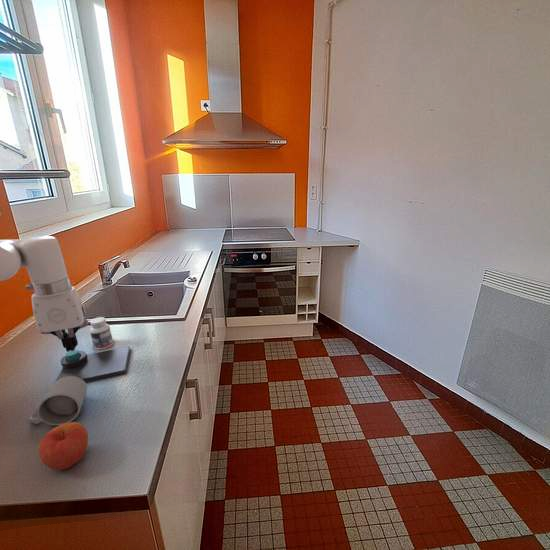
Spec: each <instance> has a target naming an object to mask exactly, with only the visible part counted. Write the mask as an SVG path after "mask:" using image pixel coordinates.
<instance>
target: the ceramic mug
mask: <svg viewBox="0 0 550 550" xmlns="http://www.w3.org/2000/svg"><path fill="white" fill-rule="evenodd" d="M56 380H57V379H56ZM56 380H55V382H54V383H53V384H51V386H50V388H48V390H47V392H46V393H45V395H44V397H43V398H42V399H41V401H40V402H39V404H38V406H37V408H36V409H35V410H34V411H33V412H32V413H31V415H30V417H29V421H30V422H32V423H33V424H35V425H39V424H41V423H42V422H43V423H45V424H46V425H49V426H59V425H62V424H64V423H68V422H74V420H75V419H76V418H77V417H78V416H79V414H80V412H81V409H82V406H83V404H84V401H85V398H86V395H87V392H88V391H87V390H88V387H87V382H86V383H85V382H84V381H83V380H82V379H81V378H79V377H76V376H66V377H63V378H60V379H59V380H57V381H56Z"/></svg>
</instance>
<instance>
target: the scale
mask: <svg viewBox="0 0 550 550" xmlns="http://www.w3.org/2000/svg"><path fill="white" fill-rule="evenodd" d="M78 351H79V354H80V358H78V359H76V360H74V361H67V358H66V355H64V356H62V358H61V359H60V365H61V367H62V369H61V370H60V372H59V374H58V376H57V379H56V380H55V382H56V381H57V380H59V379H60V378H63V377H66V376H76V377H79V378H81V379H82V380H83V381H84V382H85V383H86V384H87V383H90V382H91V383H92V382H94V381H99V380H105V379H108V378H114V377H118V376H123V375H126V374H127V368H128V363H129V358H130V353H131V348H130V346H125V347H119V348H114V349H113V348H112V349H109V350H103V351H98V352H97V351H96V352H93V353H86V351H82V350H78Z"/></svg>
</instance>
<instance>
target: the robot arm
mask: <svg viewBox="0 0 550 550" xmlns="http://www.w3.org/2000/svg"><path fill="white" fill-rule="evenodd" d="M23 267H24V268H26V270H27V274H28V276H29V277H28V278H29V279H30V283H29V284H26V285H25V289H26V291H32V292H33V293H32V295H31V307H32V312H33V317H34V322H35V325H36V328H37V330H38V331H39V332H40V334H42V335H53V336H55V337H57V339H59V340H60V341H61V344H62V347H63V349H65V350H66V353H68V352H69V351H74V350H76V347H77V346H78V345H79V341H78V337H77V335H76V333H77V332H78V331H79V330H80V329H83V328H86V327H88V326H89V321H88V319H87V313H86V309H85V307H84V304H83V301H82V299H81V297H80V294H79V293H78V291H77V289H76V287H75V286H73V285H72V284H71V280H70V278H69V277H70V276H69V274H68V271H67V267H66V263H65V260H64V256H63V253H62V250H61V246H60V243H59V239H57V238H56V237H54V236H52V235H39V236H33V237H27V238H19V239H0V282H3V281H6V280H9V279H11V278H12V277H14V276H15V275H16V274H17V273H18V271H19V270H20V269H21V268H23ZM66 330H67V331H66Z"/></svg>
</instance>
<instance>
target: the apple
mask: <svg viewBox="0 0 550 550" xmlns="http://www.w3.org/2000/svg"><path fill="white" fill-rule="evenodd" d="M88 444H89V434H88V430H87V429H86V427H85V426H84V425H83V424H81V423H79V422H77V421H76V422H75V421H71V422H68V423H64V424H62V425H56V426H55V427H54V428H52V429H51V430H50V431H48V432H47V433H46V434H45V435H44V436H43V438H42V439H41V441H40V443H39V445H38V457H39V459H40V462H42V464H43V465H44V466H46V467H48V469H52V470H56V471H58V470H59V471H62V470H65V469H68V468H70V467H72V466H74V465H76V464H77V463H78V462H79V461H80V460H81V459H82V458H83V457H84V455H85V453H86V451H87V449H88Z"/></svg>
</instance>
